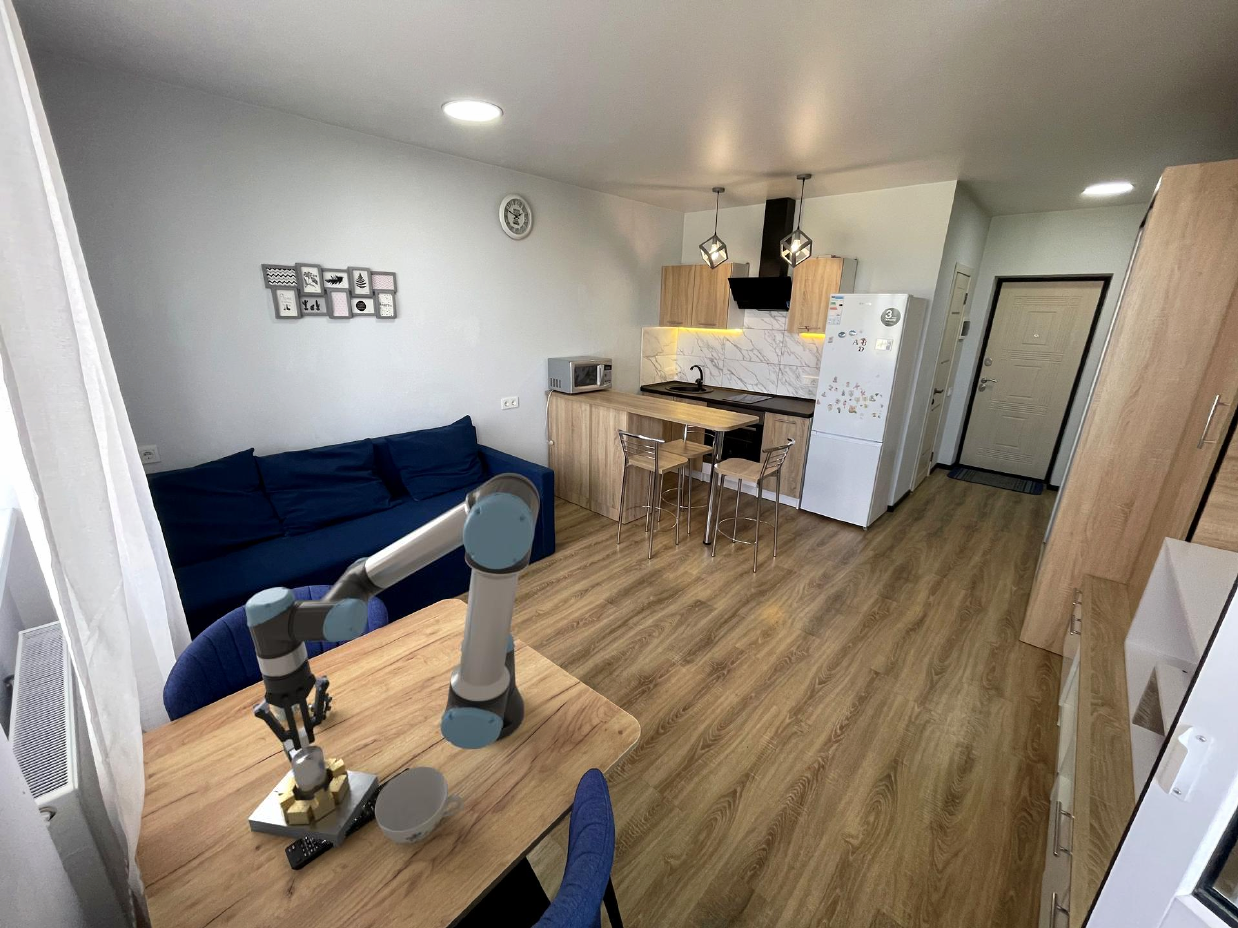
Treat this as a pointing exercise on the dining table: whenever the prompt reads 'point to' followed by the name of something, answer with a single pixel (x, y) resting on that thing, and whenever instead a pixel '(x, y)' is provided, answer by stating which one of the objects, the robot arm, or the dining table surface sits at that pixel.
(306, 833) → the plate
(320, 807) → the grey bar gold ring
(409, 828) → the teacup
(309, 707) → the valve
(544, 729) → the dining table surface
